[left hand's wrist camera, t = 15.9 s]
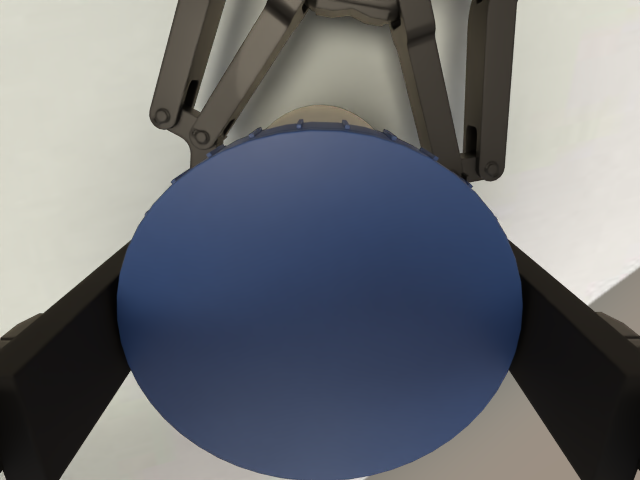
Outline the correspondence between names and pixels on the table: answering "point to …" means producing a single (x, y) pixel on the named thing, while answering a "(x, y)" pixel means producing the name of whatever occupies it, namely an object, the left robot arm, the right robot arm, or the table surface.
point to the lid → (319, 302)
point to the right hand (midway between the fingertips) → (307, 281)
